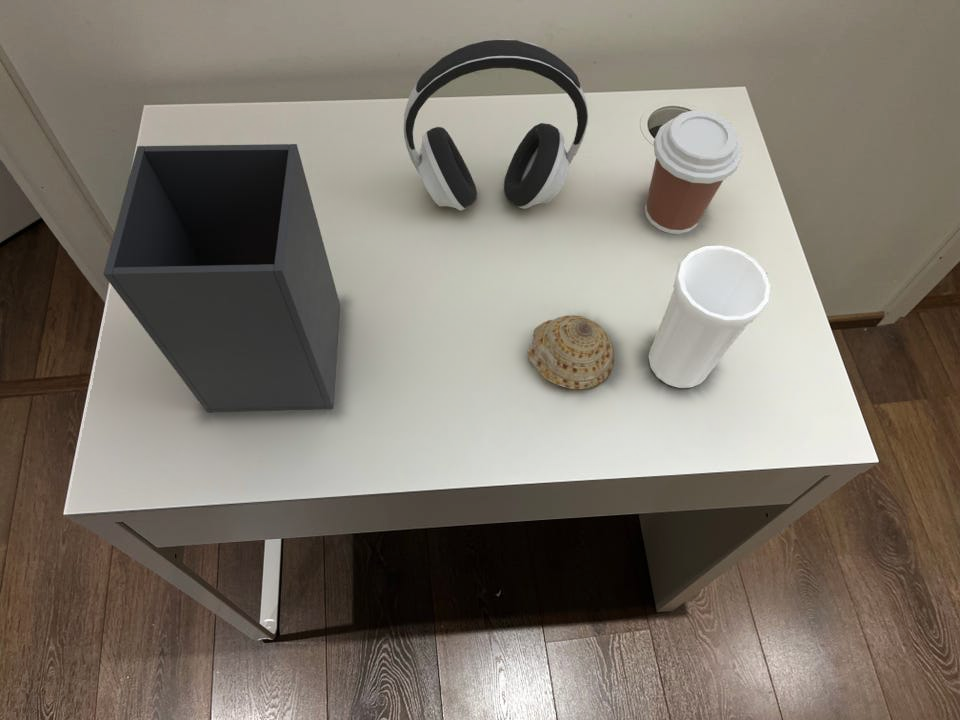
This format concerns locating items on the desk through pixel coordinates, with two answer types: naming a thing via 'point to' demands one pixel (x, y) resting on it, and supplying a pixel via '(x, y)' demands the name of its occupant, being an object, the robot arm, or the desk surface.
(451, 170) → the headphones
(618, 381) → the desk surface
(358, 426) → the desk surface
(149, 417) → the desk surface
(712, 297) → the cup
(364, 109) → the desk surface
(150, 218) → the wastebasket
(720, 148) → the coffee cup
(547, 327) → the seashell
